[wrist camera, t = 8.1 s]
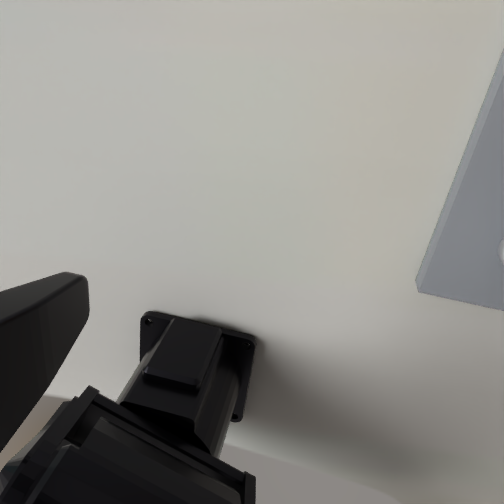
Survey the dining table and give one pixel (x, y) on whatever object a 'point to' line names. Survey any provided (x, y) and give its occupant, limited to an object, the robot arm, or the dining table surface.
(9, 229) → the dining table surface
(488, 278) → the peg plate
